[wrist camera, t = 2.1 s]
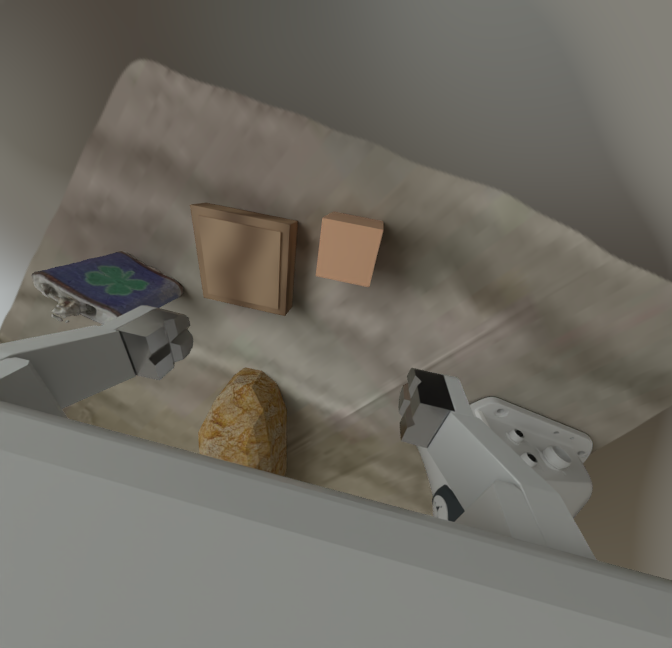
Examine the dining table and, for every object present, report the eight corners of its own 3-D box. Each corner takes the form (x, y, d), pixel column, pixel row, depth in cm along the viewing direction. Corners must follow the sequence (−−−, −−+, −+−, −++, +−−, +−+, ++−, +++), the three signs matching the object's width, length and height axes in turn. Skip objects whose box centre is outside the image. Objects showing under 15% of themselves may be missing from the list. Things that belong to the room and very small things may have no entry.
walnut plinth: (297, 221, 25) (288, 225, 22) (292, 306, 30) (284, 316, 28) (206, 202, 25) (188, 204, 23) (216, 289, 31) (202, 298, 28)
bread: (219, 360, 38) (171, 413, 29) (287, 375, 37) (258, 433, 28) (241, 479, 56) (215, 532, 48) (286, 490, 55) (268, 547, 47)
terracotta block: (383, 221, 24) (383, 229, 19) (371, 270, 26) (369, 287, 22) (333, 211, 24) (322, 217, 20) (326, 260, 27) (315, 275, 22)
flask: (186, 284, 31) (104, 327, 22) (182, 302, 33) (104, 348, 24) (117, 245, 30) (0, 273, 21) (116, 265, 32) (7, 299, 22)
